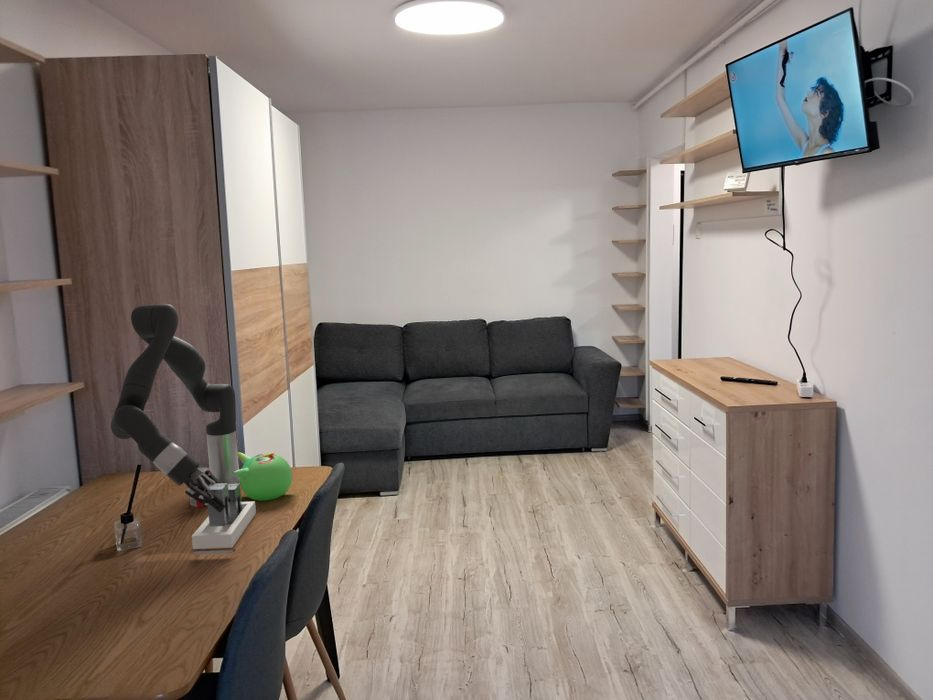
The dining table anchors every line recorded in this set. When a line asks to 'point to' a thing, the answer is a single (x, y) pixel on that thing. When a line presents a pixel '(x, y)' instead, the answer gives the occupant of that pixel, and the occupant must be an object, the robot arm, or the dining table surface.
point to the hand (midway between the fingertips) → (225, 505)
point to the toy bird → (264, 476)
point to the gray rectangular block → (234, 502)
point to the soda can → (196, 503)
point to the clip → (222, 495)
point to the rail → (222, 532)
